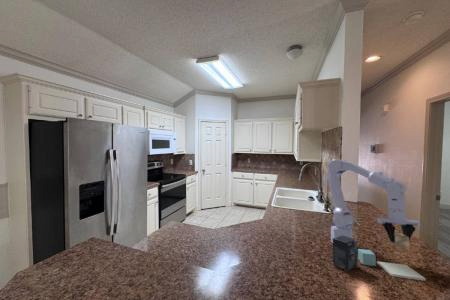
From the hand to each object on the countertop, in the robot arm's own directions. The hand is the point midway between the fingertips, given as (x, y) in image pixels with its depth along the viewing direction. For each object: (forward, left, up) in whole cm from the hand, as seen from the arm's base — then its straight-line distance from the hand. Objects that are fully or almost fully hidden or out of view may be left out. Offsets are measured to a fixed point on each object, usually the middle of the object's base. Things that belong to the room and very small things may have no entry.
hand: (399, 242), depth 81 cm
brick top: (-14, -4, -8) cm, 17 cm away
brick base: (0, 0, -2) cm, 2 cm away
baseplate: (-5, -9, -8) cm, 13 cm away
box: (-24, -10, -9) cm, 27 cm away
